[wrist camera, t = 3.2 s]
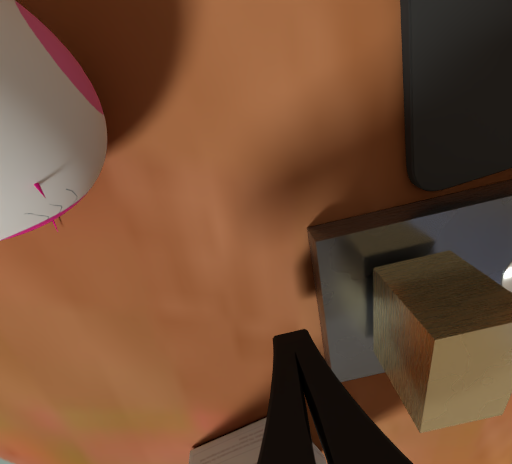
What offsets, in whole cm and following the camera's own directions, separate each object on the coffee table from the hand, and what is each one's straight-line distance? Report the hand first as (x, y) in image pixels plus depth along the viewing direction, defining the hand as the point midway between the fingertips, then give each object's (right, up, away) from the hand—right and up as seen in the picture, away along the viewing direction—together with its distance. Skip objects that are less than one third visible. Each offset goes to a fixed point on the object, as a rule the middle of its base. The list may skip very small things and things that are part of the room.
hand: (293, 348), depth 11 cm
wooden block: (+5, +2, +1) cm, 5 cm away
